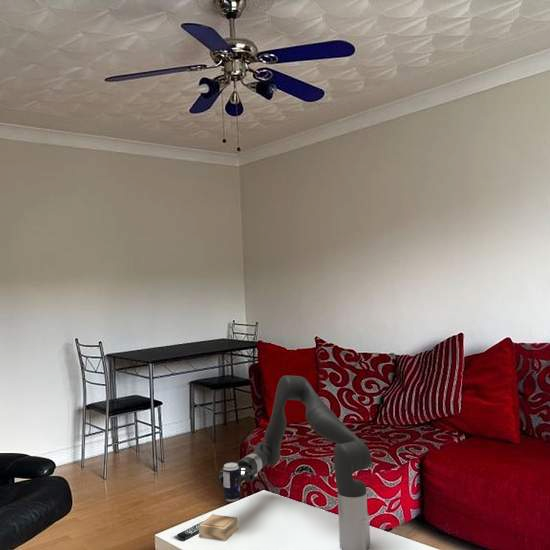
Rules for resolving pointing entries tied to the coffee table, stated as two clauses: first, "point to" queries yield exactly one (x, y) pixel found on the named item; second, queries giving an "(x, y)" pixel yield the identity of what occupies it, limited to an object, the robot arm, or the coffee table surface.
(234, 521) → the base block
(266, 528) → the coffee table surface
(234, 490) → the beverage can
